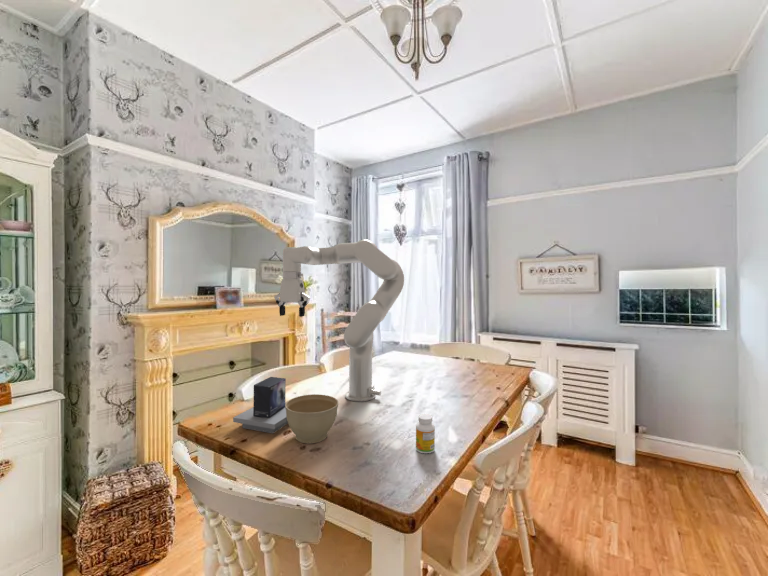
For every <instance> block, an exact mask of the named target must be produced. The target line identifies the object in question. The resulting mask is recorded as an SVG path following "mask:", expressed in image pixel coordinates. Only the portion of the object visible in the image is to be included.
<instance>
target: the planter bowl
mask: <svg viewBox="0 0 768 576" xmlns="http://www.w3.org/2000/svg"><path fill="white" fill-rule="evenodd" d="M338 407H339V401H338V399H337V398H335V397H333V396H331V395H326V394H320V393H319V394H315V393H314V394H305V395H304V394H303V395H300V396H295V397H293V398H291V399H289V400H287V401H285V409H286V416H287V421H288V424H287V425H288V426H289V428H290V429H291V432H292V433H293V434H294V435H295V439H296V440H297V441H298V442H300V443H303V444H316V443H319V442H322V441H324V440H325V439H326V438H327V437H328V433H329V432H330V430H331V429H332V428H333V426H334V424H335V421H336V419H337V413H338Z"/></svg>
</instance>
